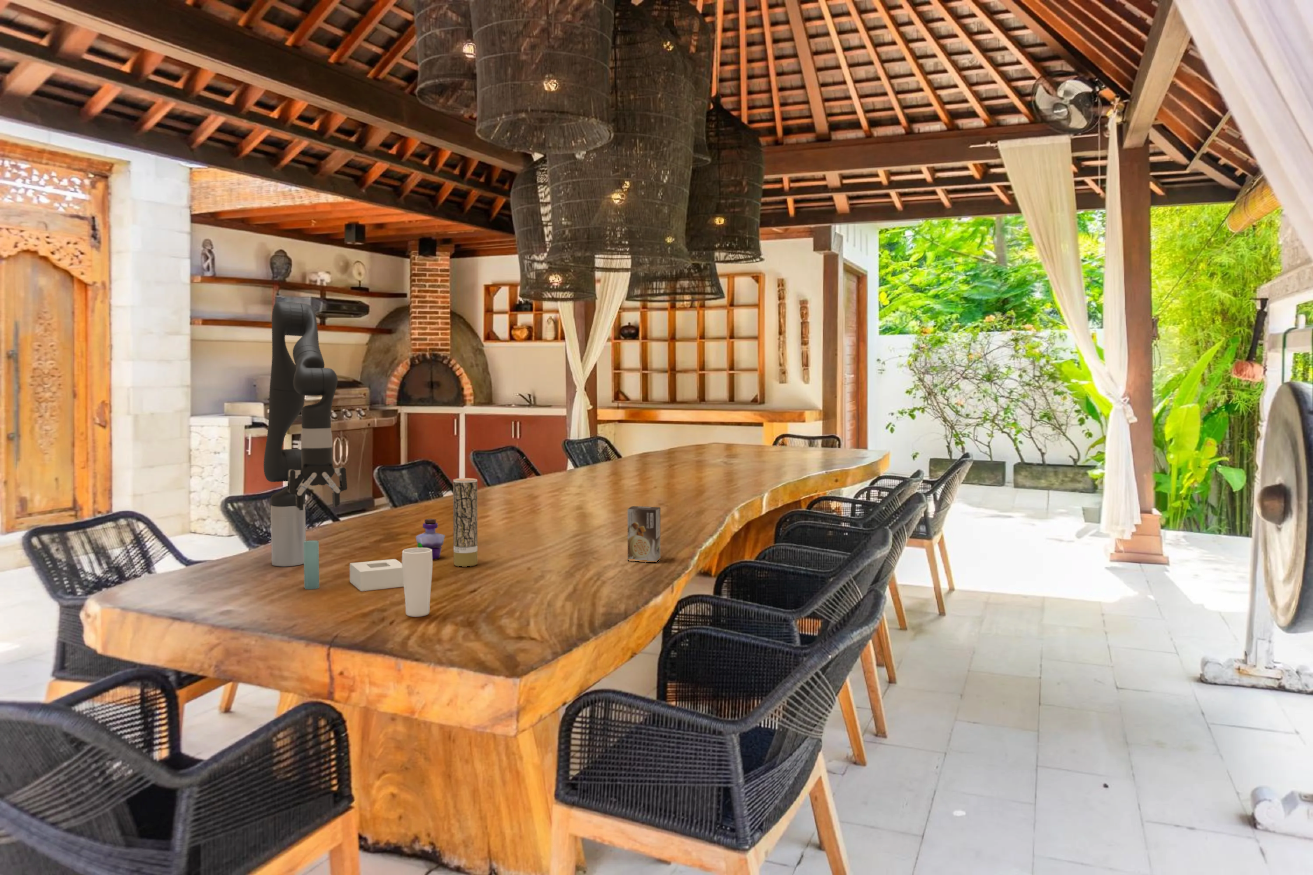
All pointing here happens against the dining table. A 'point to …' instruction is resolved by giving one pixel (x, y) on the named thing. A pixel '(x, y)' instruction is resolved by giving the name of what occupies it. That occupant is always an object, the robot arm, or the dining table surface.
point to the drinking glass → (417, 580)
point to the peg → (311, 564)
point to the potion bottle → (431, 538)
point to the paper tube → (465, 521)
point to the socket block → (376, 574)
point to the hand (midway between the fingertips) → (318, 508)
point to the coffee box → (644, 533)
